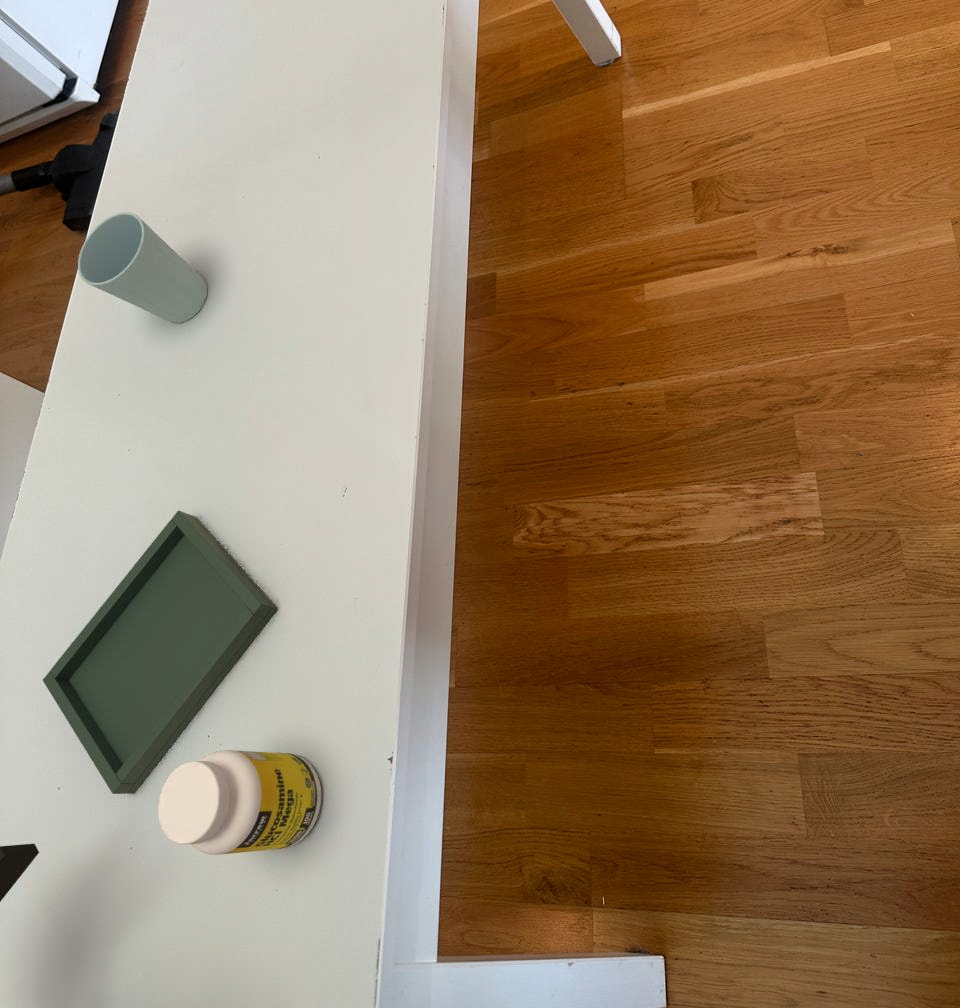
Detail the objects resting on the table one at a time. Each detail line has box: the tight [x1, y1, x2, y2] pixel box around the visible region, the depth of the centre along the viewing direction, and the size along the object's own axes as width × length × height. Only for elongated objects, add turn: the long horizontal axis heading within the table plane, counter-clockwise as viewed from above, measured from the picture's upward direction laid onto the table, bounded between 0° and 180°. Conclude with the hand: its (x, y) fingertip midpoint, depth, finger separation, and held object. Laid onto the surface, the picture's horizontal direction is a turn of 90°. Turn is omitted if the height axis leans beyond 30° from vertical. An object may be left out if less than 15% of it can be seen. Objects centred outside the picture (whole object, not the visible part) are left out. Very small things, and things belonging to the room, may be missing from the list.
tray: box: [42, 509, 279, 795], centre depth 72 cm, size 18×13×2 cm
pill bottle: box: [157, 749, 322, 856], centre depth 59 cm, size 6×6×11 cm
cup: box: [77, 211, 208, 324], centre depth 85 cm, size 8×8×10 cm
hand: (66, 937), depth 52 cm, fingers open, 13 cm apart
